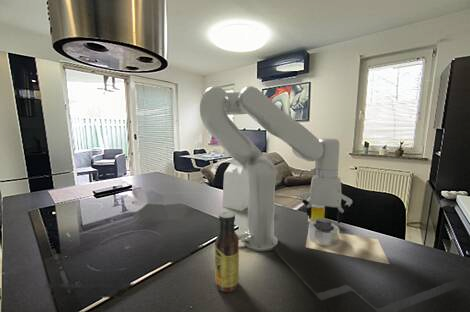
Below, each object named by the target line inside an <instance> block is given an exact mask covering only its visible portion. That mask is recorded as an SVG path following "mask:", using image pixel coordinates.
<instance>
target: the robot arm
mask: <svg viewBox="0 0 470 312" xmlns="http://www.w3.org/2000/svg"><path fill="white" fill-rule="evenodd" d="M200 98H201V99H200V102H199V114H200V118H201V121H202V123H203V125H204V127H205V128H206V130H207V131H208V132H209V134H210V135H211V136H212V137H213V139H215V140H216V142H217V143H218V145H220V146H221V147H222V148H223V150H224V151H225V152H226V153H228V155H229V156H230V158H231V159H234V160H236V161H238V162H239V163H240V164H241V165H242V167H243V168H244V169H245V170H246V171H247V172H248V207H247V228H245V229H244V231H245V232H244V231H243V232H242V233H236V234H237V236H238V240H240V242H241V243H243V244H244V246H246V247H247V249H250V250H252V251H257V252H269V251H272V250H274V249H275V248H274V247H275V246H276V245H278V241H279V239H278V238H277V237H276V236H275V235H274V233H275V231H274V230H275V228H274V227H275V189H276V180H277V169H276V166H275V164H274V163H273V162H272V161H271V160H270V159H269V158H268V157H267V156H266V155H265V154H264V153H263V152H262V151H261V150H260V148H258V147H257V146H256V144H255V143H253V141H252V139H250V138H249V137H248V136H247V135H245V133H244V132H242V131H241V129H239V127H238V126H237V125H236V124H235V123H234V121H232V120H231V118H230V117H229V116H228V115H233V116H234V115H248V116H250V117H251V118H252V119H253V120H254V121H255V122H256V123H257V124H258V125H260V126H261V127H262V128H263V129H264V131H267V132H268V133H269V134H271V135H273V136H274V137H276V138H278V139H280V140H282V141H283V142H284V143H285V144H287V145H288V146H289V147H291V150H292V153H293V154H294V156H295V157H297V158H299V159H302V160H304V161H307V162H315V165H314V168H311V169H310V174H313V176H312V178H311V183H310V189H309V191H306V192H303V193H301V194H300V195H299V197H300V200H301V202H302V204H303V205H305V207H306V216H309V219H311V212H312V207H311V206H312V205H313V204H314V205H320V206H325V207H328V208H336V209H338V210H337V220H336V221H337V223H338V224H341V221H343V213H344V212H345V211H347V210H348V209H349V208H350V207H351V205H352V204H353V199H351V198H350V197H348V196H346V195H344V194H343V193H342V182H341V178H340V177H339V162H340V161H339V160H340V141H339V139H338V138H330V137H329V138H326V137H325V138H317V136H315V135H314V134H313V133H312V131H310V130H308V129H307V128H306V127H305V126H304V125H303V124H301V123H300V122H298V121H297V120H295V119H294V118H293V117H291V116H290V115H289V114H287V113H286V112H284V111H283V110H282V109H281V108H280V107H279V106H277V105H276V104H275V103H274V102H273V101H272V100H271V99H270V98H269V97H267V95H265V94H264V93H263V92H262V91H261V90H260V89H258V88H257V87H254V86H253V85H249V86H246V87H244V88H243V89H241V91H238V92H237V91H235V92H233V91H232V92H227V91H226V90H225V89H223V88H222V87H220V86H217V85H216V86H211V87H208V88H207V89H205V91H204V92H203V94H202V97H200ZM306 197H309V201H308V200H307V199H306ZM342 200H343V201H345V204H344V205H342Z"/></svg>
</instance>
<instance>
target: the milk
mask: <svg viewBox="0 0 470 312" xmlns="http://www.w3.org/2000/svg"><path fill="white" fill-rule="evenodd" d="M222 187H223V189H222V208H225V209H230V210H235V211H239V212H242V211H244V210H245V209H248V172H247V171H246V170H245V169H244V168H243V167H242V165H241V164H240V163H239V162H238V161H236V160H234V159H233V158H231V161H230V163H229V165H228V167H227V168H226V170H225V171H224V173H223V186H222Z"/></svg>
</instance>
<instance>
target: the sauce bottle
mask: <svg viewBox="0 0 470 312" xmlns="http://www.w3.org/2000/svg"><path fill="white" fill-rule="evenodd" d="M218 220H219V231H218V233H217V236H216V239H215V242H214V274H215V275H214V278H215V279H214V281H215V285H216V287H217V289H218V290H219V291H220V292H225V293H227V292H232V291H234V290H236V289H237V287H238V284H239V279H240V278H239V277H240V275H239V273H240V271H239V270H240V263H239V261H240V259H239V257H240V248H239V240H238V236H237V234H238V233H236V231H235V221H236V215H235V213H234V212H232V211H222V212H221V213H219V215H218Z"/></svg>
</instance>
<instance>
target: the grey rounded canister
mask: <svg viewBox="0 0 470 312" xmlns="http://www.w3.org/2000/svg"><path fill="white" fill-rule="evenodd" d="M331 225H332V221H331V220H330V219H327V218H325V219H324V218H319V219H316V228H317V229H320V230H325V231H330V230H331Z"/></svg>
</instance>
